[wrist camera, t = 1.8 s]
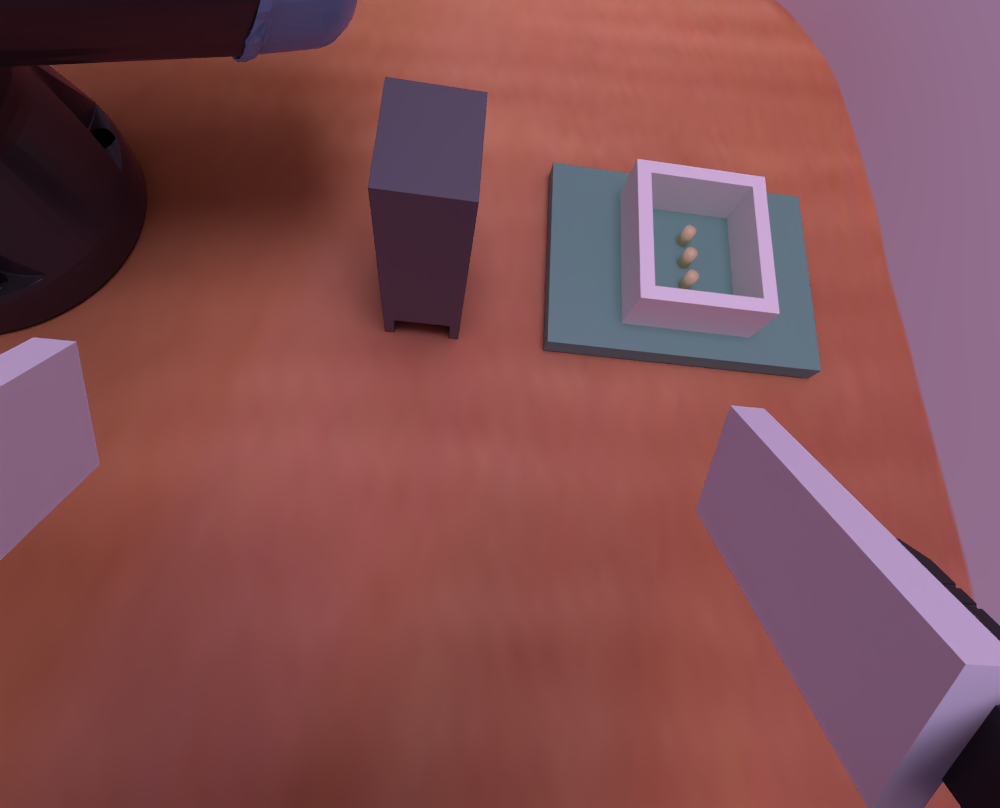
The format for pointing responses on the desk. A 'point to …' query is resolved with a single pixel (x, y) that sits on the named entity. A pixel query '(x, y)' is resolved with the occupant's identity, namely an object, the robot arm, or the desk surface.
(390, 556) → the desk surface
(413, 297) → the block
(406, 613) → the desk surface
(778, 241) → the board
